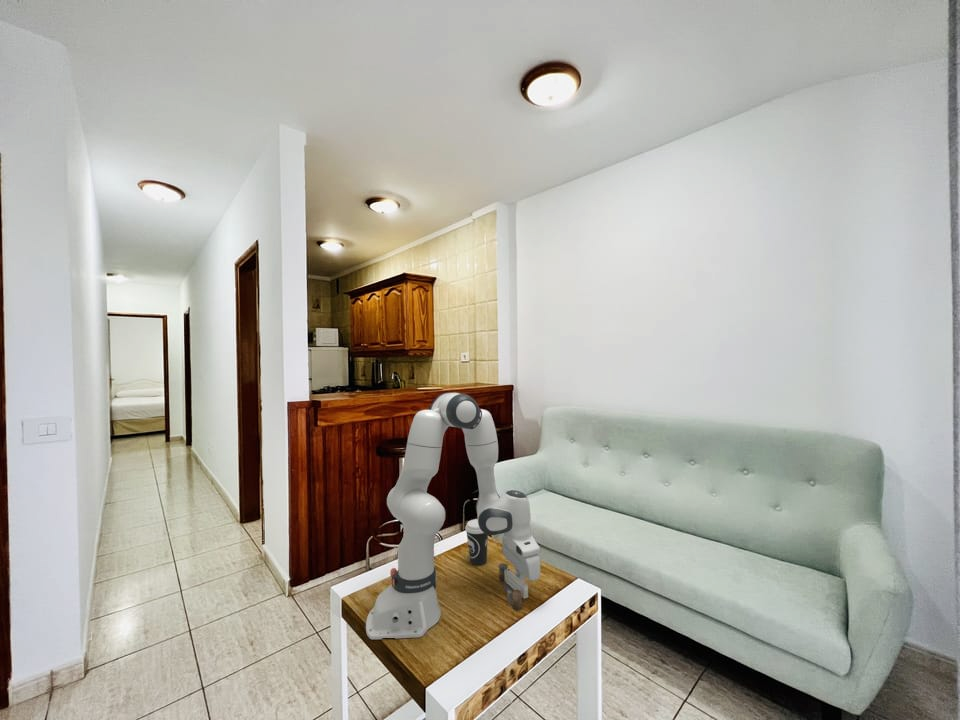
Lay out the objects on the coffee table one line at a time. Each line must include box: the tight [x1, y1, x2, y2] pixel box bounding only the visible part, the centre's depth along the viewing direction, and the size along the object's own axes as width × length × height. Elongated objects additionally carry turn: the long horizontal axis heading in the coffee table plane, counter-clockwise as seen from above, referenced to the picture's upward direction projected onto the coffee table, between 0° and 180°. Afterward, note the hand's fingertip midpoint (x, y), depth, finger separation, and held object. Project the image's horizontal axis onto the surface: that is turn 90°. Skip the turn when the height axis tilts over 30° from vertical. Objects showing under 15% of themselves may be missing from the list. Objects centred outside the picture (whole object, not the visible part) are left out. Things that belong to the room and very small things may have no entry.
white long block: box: [504, 568, 529, 600], centre depth 129 cm, size 12×2×4 cm, turn 28°
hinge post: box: [498, 562, 509, 583], centre depth 136 cm, size 3×3×5 cm
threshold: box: [502, 583, 514, 601], centre depth 128 cm, size 2×9×1 cm, turn 12°
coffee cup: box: [464, 518, 489, 567], centre depth 149 cm, size 10×10×15 cm
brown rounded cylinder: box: [506, 589, 523, 611], centre depth 121 cm, size 4×5×5 cm, turn 13°
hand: (520, 580), depth 129 cm, fingers closed
